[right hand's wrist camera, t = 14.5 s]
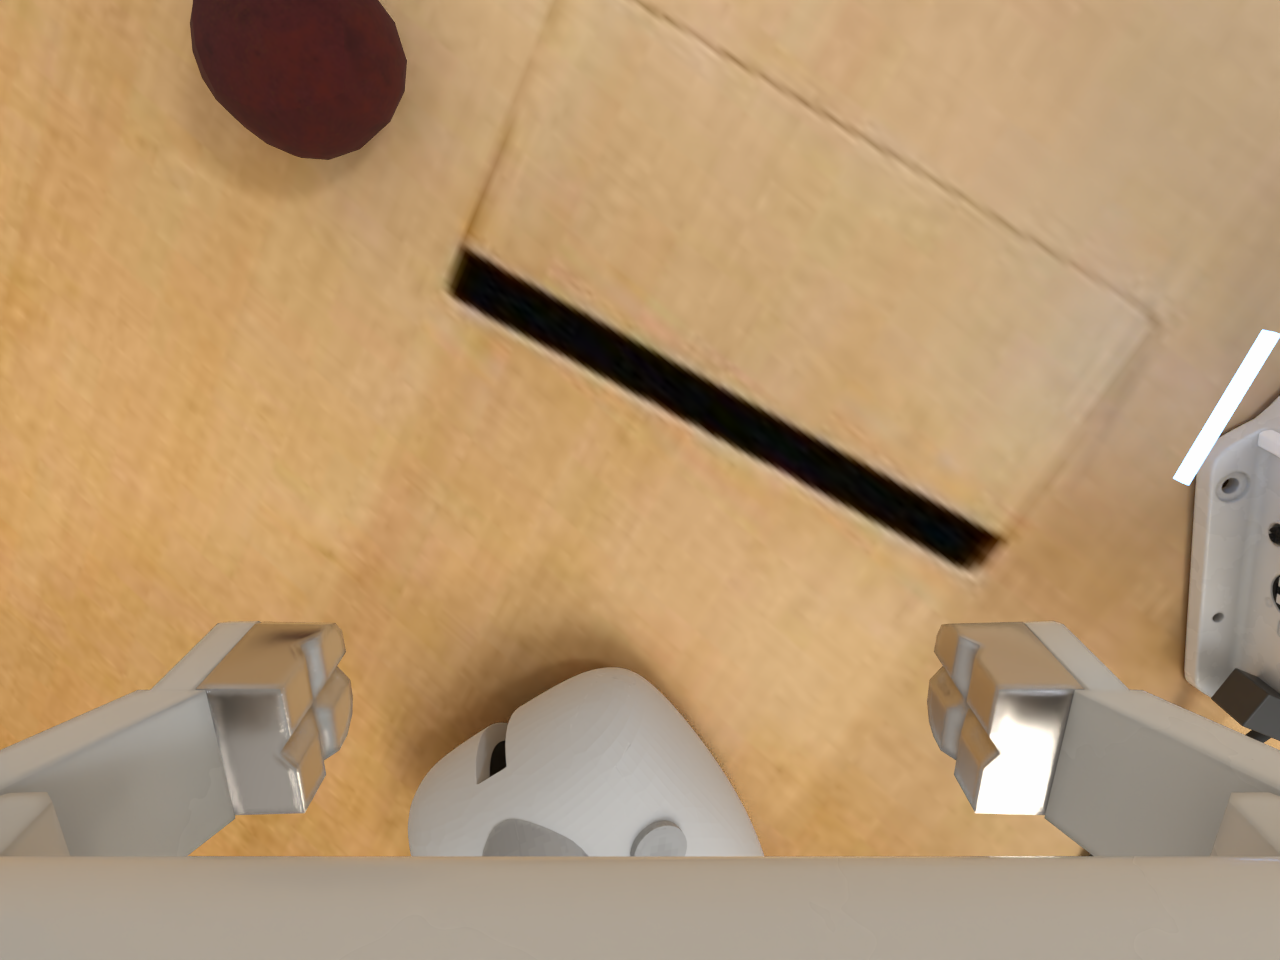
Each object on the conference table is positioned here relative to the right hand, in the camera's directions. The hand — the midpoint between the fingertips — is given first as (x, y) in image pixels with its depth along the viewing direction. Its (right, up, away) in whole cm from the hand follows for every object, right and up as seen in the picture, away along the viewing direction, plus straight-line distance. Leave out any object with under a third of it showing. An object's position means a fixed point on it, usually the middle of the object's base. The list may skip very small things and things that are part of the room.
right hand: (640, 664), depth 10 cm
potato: (-13, +21, +23) cm, 34 cm away
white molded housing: (-1, -18, +37) cm, 41 cm away
